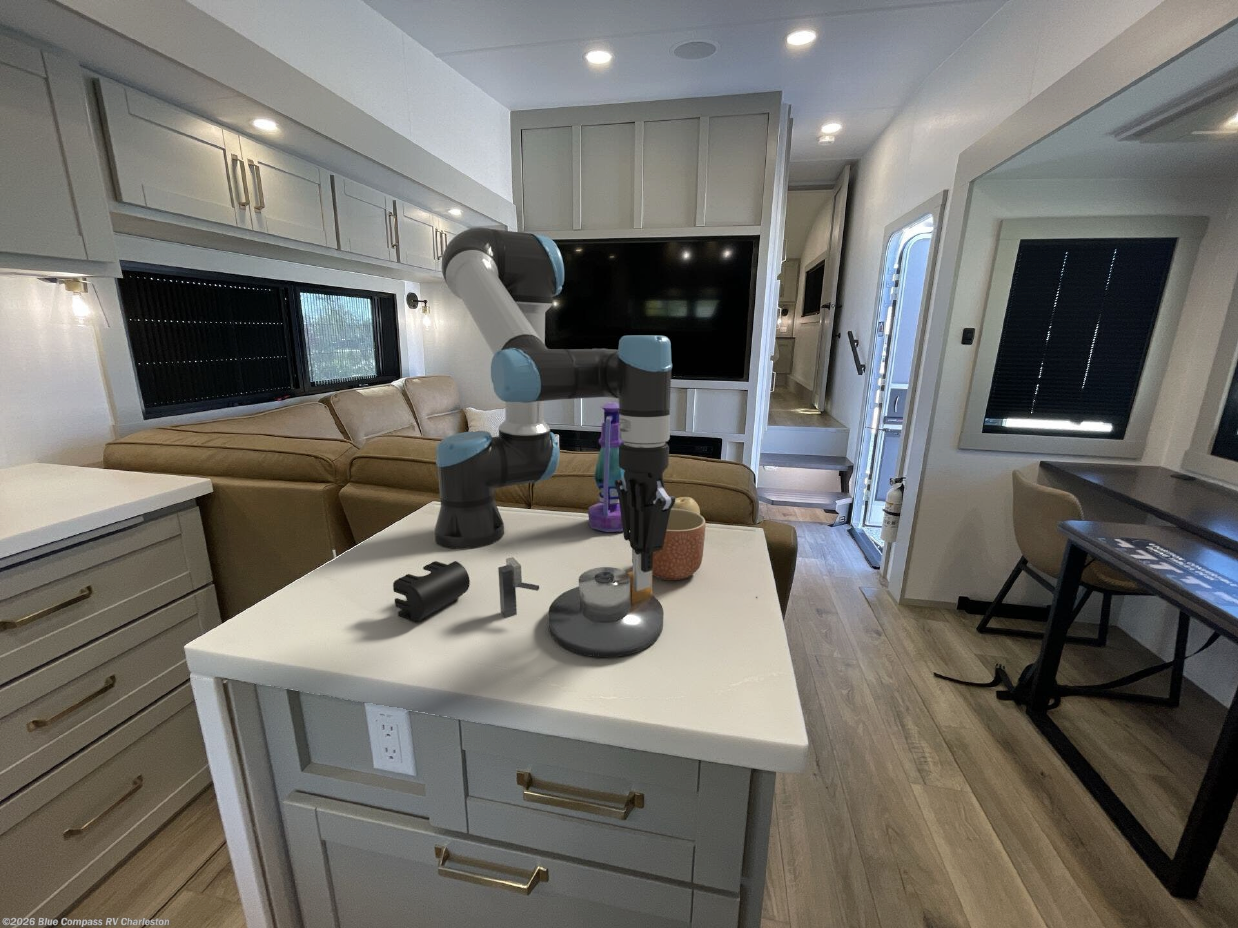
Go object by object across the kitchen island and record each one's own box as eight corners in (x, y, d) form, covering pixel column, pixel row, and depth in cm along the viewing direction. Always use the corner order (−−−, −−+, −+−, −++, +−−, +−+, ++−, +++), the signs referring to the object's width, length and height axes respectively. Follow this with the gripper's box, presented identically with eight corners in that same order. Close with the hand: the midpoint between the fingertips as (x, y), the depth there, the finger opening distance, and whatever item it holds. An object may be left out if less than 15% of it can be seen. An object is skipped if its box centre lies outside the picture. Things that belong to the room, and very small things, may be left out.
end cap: (425, 629, 76) (421, 589, 74) (394, 617, 79) (389, 579, 77) (471, 600, 84) (469, 564, 83) (442, 590, 87) (439, 555, 86)
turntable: (530, 611, 80) (528, 572, 78) (622, 583, 89) (622, 548, 88) (583, 673, 65) (583, 626, 64) (687, 631, 75) (689, 589, 73)
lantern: (594, 514, 126) (594, 397, 119) (639, 517, 124) (641, 399, 117) (580, 533, 114) (579, 404, 106) (630, 537, 111) (632, 406, 104)
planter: (686, 593, 87) (689, 536, 84) (626, 576, 93) (627, 522, 91) (712, 567, 97) (715, 515, 94) (657, 553, 103) (658, 504, 101)
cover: (569, 609, 77) (567, 577, 76) (604, 589, 83) (603, 560, 81) (605, 627, 72) (604, 594, 70) (641, 605, 78) (640, 574, 76)
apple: (707, 528, 117) (698, 505, 113) (676, 540, 118) (666, 518, 113) (699, 508, 123) (689, 485, 119) (669, 520, 124) (659, 498, 120)
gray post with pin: (499, 609, 81) (496, 560, 79) (526, 602, 84) (524, 554, 81) (512, 628, 76) (510, 576, 74) (541, 619, 78) (539, 569, 76)
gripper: (600, 438, 76) (601, 577, 82) (648, 452, 66) (646, 611, 71) (640, 433, 80) (638, 566, 86) (691, 447, 69) (686, 597, 75)
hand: (642, 586), depth 78 cm, fingers closed
